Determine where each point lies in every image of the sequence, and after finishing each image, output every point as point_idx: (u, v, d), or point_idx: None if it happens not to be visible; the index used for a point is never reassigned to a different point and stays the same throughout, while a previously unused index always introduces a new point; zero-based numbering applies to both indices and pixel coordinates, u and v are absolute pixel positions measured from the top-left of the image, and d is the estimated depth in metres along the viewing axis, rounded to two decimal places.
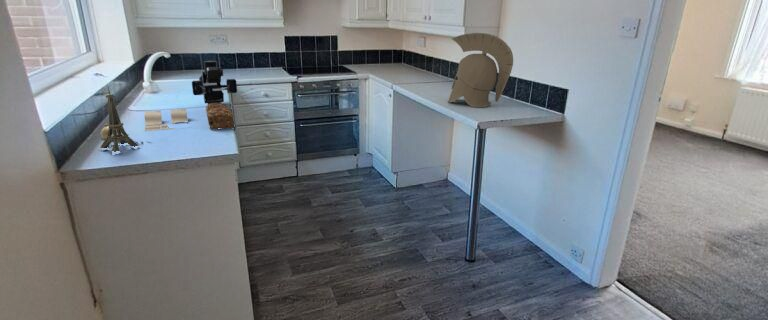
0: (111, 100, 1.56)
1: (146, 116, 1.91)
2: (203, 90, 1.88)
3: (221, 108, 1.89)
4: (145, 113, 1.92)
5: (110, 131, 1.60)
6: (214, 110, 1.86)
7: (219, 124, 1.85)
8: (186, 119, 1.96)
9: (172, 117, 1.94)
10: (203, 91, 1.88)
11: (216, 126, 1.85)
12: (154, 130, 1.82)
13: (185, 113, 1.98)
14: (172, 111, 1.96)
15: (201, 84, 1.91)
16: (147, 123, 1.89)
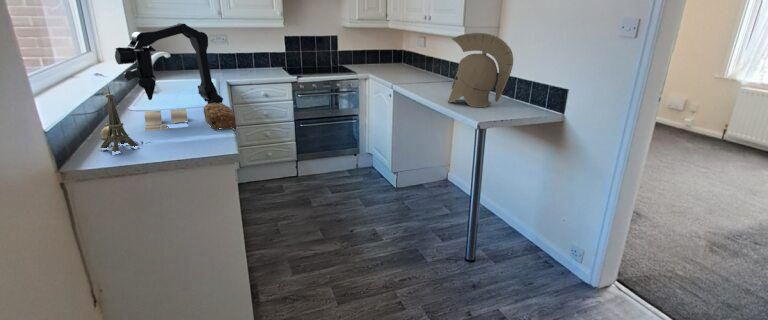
0: (111, 100, 1.56)
1: (146, 116, 1.91)
2: None
3: (222, 108, 1.89)
4: (145, 113, 1.92)
5: (110, 131, 1.60)
6: (215, 110, 1.86)
7: (221, 124, 1.85)
8: (186, 119, 1.96)
9: (172, 117, 1.94)
10: None
11: (218, 126, 1.85)
12: (154, 130, 1.82)
13: (185, 113, 1.98)
14: (172, 111, 1.96)
15: None
16: (147, 123, 1.89)
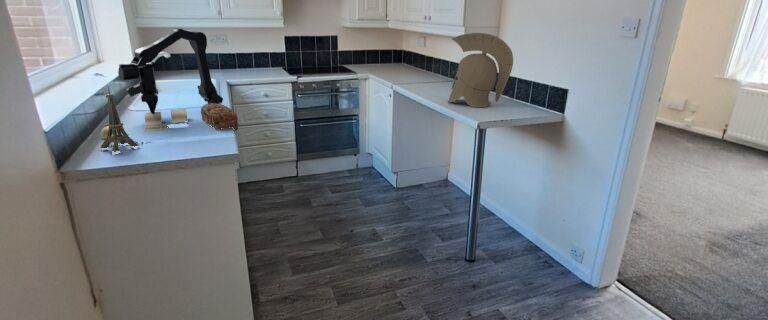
0: (111, 100, 1.56)
1: (146, 117, 1.91)
2: None
3: (223, 108, 1.89)
4: (145, 114, 1.92)
5: (110, 131, 1.60)
6: (217, 110, 1.86)
7: (224, 123, 1.86)
8: (186, 119, 1.96)
9: (172, 117, 1.94)
10: None
11: (221, 126, 1.85)
12: (154, 130, 1.82)
13: (185, 113, 1.98)
14: (172, 111, 1.96)
15: None
16: (147, 123, 1.89)
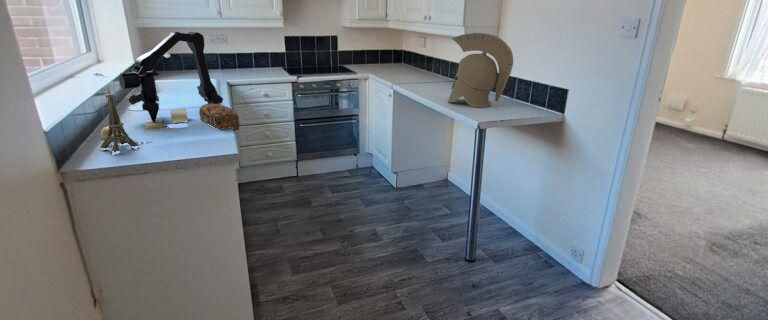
0: (111, 100, 1.56)
1: (147, 122, 1.93)
2: None
3: (223, 108, 1.89)
4: (146, 120, 1.94)
5: (110, 131, 1.60)
6: (218, 110, 1.86)
7: (226, 123, 1.86)
8: (186, 119, 1.96)
9: (172, 117, 1.94)
10: None
11: (223, 126, 1.86)
12: (154, 130, 1.82)
13: (185, 113, 1.98)
14: (172, 111, 1.96)
15: None
16: (147, 124, 1.89)
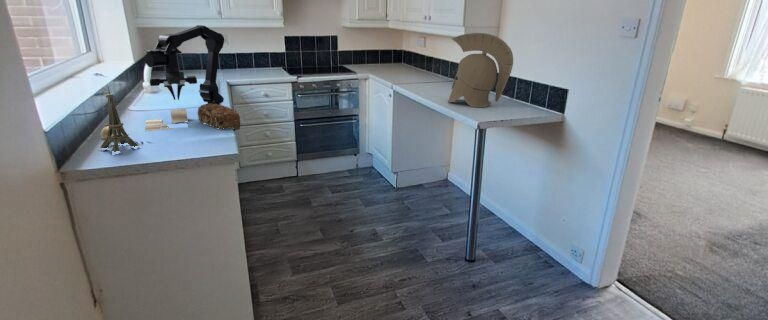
0: (111, 100, 1.56)
1: (147, 122, 1.93)
2: None
3: (224, 108, 1.89)
4: (146, 120, 1.94)
5: (110, 131, 1.60)
6: (219, 110, 1.86)
7: (228, 123, 1.87)
8: (186, 119, 1.96)
9: (172, 117, 1.94)
10: (172, 95, 1.95)
11: (225, 126, 1.86)
12: (154, 130, 1.82)
13: (185, 113, 1.98)
14: (172, 111, 1.96)
15: (170, 88, 1.91)
16: (147, 124, 1.89)
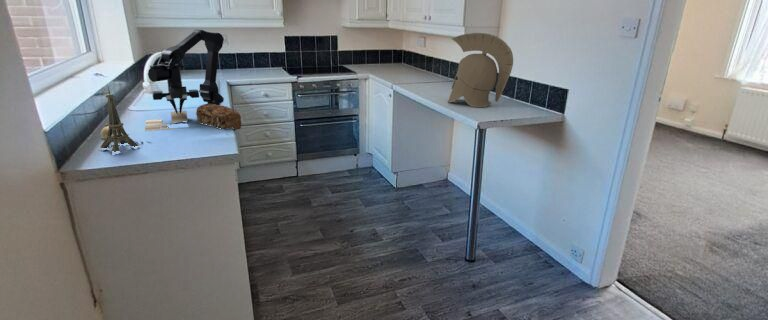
0: (111, 100, 1.56)
1: (147, 122, 1.93)
2: None
3: (224, 107, 1.90)
4: (146, 120, 1.94)
5: (110, 131, 1.60)
6: (220, 110, 1.87)
7: (230, 123, 1.87)
8: (186, 119, 1.96)
9: (172, 118, 1.95)
10: None
11: (227, 126, 1.87)
12: (154, 130, 1.82)
13: (185, 114, 1.98)
14: (172, 112, 1.97)
15: (173, 102, 1.93)
16: (147, 124, 1.89)
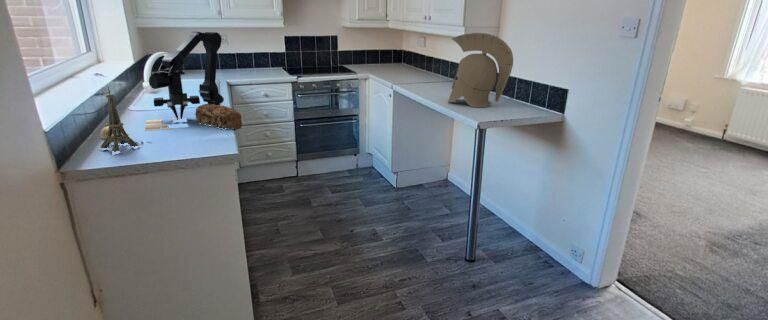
0: (111, 100, 1.56)
1: (147, 122, 1.93)
2: (175, 115, 1.98)
3: (224, 107, 1.90)
4: (146, 120, 1.94)
5: (110, 131, 1.60)
6: (221, 110, 1.87)
7: (231, 122, 1.88)
8: None
9: None
10: None
11: (229, 125, 1.87)
12: (154, 130, 1.82)
13: None
14: (173, 118, 1.99)
15: (173, 108, 1.94)
16: (147, 124, 1.89)
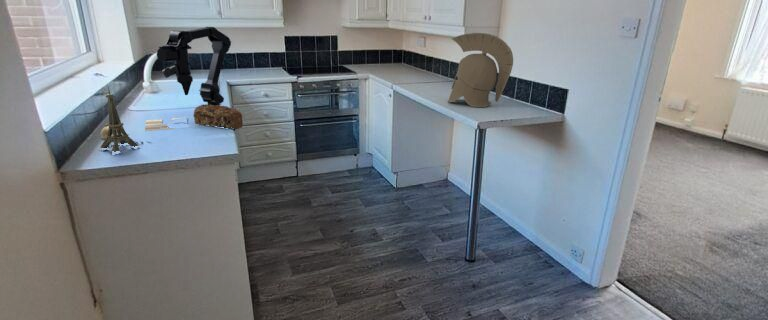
0: (111, 100, 1.56)
1: (147, 122, 1.93)
2: None
3: (225, 107, 1.90)
4: (146, 120, 1.94)
5: (110, 131, 1.60)
6: (223, 110, 1.87)
7: (234, 122, 1.89)
8: None
9: None
10: None
11: (232, 125, 1.88)
12: (154, 130, 1.82)
13: None
14: (173, 118, 1.99)
15: None
16: (147, 124, 1.89)
